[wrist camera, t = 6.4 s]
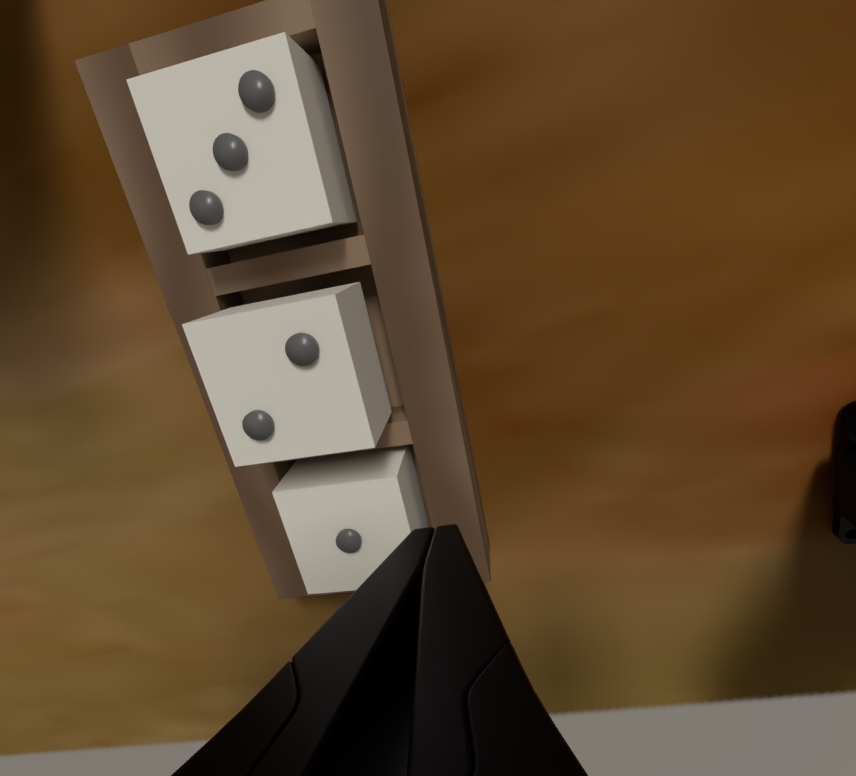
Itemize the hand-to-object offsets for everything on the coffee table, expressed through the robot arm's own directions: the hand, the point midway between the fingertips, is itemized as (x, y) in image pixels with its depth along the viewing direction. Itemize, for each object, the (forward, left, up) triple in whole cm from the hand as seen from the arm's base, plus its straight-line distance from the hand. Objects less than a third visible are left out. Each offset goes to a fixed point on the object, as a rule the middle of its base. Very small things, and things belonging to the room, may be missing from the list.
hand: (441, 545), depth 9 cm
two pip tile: (+5, -2, -9) cm, 11 cm away
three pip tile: (+5, -9, -11) cm, 15 cm away
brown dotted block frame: (+5, -2, -12) cm, 13 cm away
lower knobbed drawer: (+5, +5, -10) cm, 13 cm away
